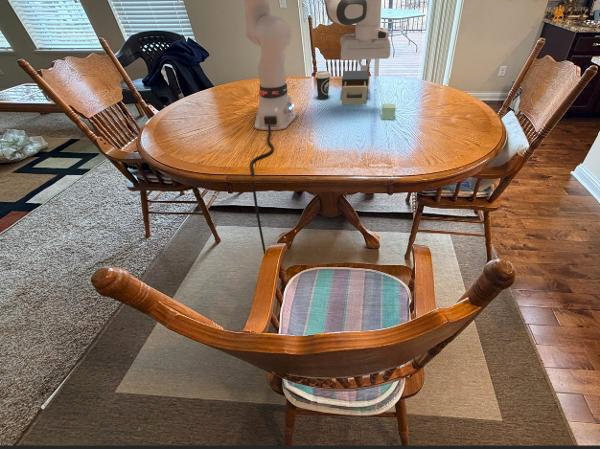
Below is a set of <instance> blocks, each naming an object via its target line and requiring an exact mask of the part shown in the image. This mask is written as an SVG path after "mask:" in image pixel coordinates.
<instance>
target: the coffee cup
mask: <svg viewBox="0 0 600 449" xmlns="http://www.w3.org/2000/svg"><path fill="white" fill-rule="evenodd" d="M314 77H315V81H316V82H315V83H316V92H317V99H318V100H327V99H328V98H329V93H330V92H329V91H330V90H329V89H330V81H331V80H330V79H331V73H330V71H328V70H320V71H317V72H315V75H314Z"/></svg>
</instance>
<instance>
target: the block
mask: <svg viewBox="0 0 600 449" xmlns="http://www.w3.org/2000/svg"><path fill="white" fill-rule="evenodd" d="M396 109H397V107H396V103H382V109H381V120H382V121H383V120H385V121H388V120H391V121H392V120H393V121H394V120H395V116H396Z"/></svg>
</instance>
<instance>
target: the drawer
mask: <svg viewBox="0 0 600 449" xmlns="http://www.w3.org/2000/svg"><path fill="white" fill-rule="evenodd" d="M367 89H368V90H369V85H368V86H366V81H345V84H344V86H342V85H341V93H342V100H341V105H367V100H368V96H367Z"/></svg>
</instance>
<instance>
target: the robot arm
mask: <svg viewBox="0 0 600 449" xmlns="http://www.w3.org/2000/svg"><path fill="white" fill-rule="evenodd" d="M323 1H324V6H325V14H326V16H327V18H328V20H329V21H330V22H331V23H333V24H339V25H341V26H343V27H344V26H345V27H349V26H352V25H354V24H355V32H354V33H352V32H351V33H343V35H341V36H340V39H339V45H340V48H341V49H340V59H341V60H342V61H352V60H353V61H354V60H355V61H356V60H357V63H358V65H359V68H360V69H359V71H368V69H369V68H368V67H369V66H370V64H371V62H372V60H382V59H383V60H385V59H386V60H387V59H389V58H390V57H391V41H390V38H389V37H390V31H389V30H388V29H386V28H383V27H380V26H379V23H380V22H379V14H380V11H381V0H323ZM242 4H243V9H244V16H245V17H244V18H245V24H244V32H245V35H246V37H247V39H248V40H249V41H251V43H252V44H254V45H255V46H258V47H260V59H259V62H258V65H257V69H258V70H257V71H258V77H259V89H258V90H259V91H258V95H259V97H258V107H257V113H256V116H255V121H254V129H255V130H260V131H267V134H268V135H267V139H266V140H267V141H266V142H267V144H268V145H269V147H270V150H269V151H268V152H266V153H263V154H261V155H257V156H256V157H254V158H253V159H252V160H251V161H250V162H249V167H250V172H251V177H252V178H254V177H255V169H254V163H255V162H256V161H257V160H259V159H262V158H264V157H267V156H269V155H271V154H272V153H273V152H274V150H275V147H274V145H273V144H272V143H271V141H270V139H271V135H272V131H279V130H285V129H286V128H287V127H289V125H291V123H292V122H293V121H294V120H295V119H296V118H297V113H295V112H294V109H293V108H294V107H295V103H293V101H292V97H291V96H290V95H289V94H288V84H287V82H286V80H287V79H286V67H285V66H286V65H285V64H286V54H287V50H288V47H289V46H290V44H291V42H292V39H293V30H292V27H291V25H290V24H289V22H288V21H286V20H285V19H284V18H283V17H281V16H278V15H273V14H272V11H271V10H272V9H271V0H242ZM363 60H366V62H367V63H366V65H363V64H362V61H363ZM251 187H252V194H253V201H254V202H253V203H254V209H255V214H256V220H257V226H258V231H259V235H260V236H259V237H260V239H261V240H260V241H261V247H262V251H263V252H262V253H263V255H264V254H265V251H266V246H265V245H266V244H265V241H264V234H263V230H262V224H261V219H260V213H259V205H258V199H257V198H258V197H257V192H256V181H251ZM266 252H267V251H266Z"/></svg>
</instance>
